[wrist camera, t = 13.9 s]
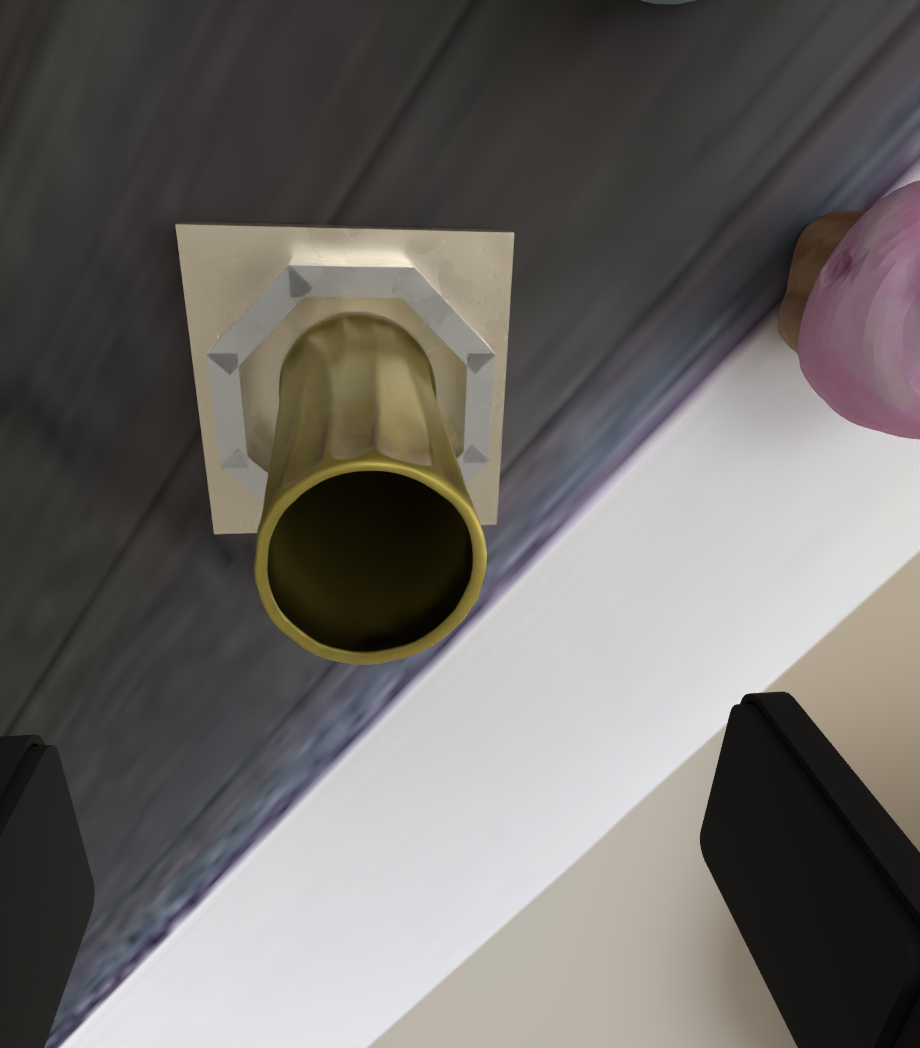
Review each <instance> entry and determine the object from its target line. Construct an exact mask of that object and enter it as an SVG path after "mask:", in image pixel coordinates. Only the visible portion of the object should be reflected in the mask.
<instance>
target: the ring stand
mask: <svg viewBox="0 0 920 1048" xmlns="http://www.w3.org/2000/svg"><path fill="white" fill-rule="evenodd" d="M175 225H176V233H177V241H178V249H179V257H180V265H181V273H182V281H183V289H184V297H185V305H186V313H187V321H188V329H189V337H190V345H191V353H192V361H193V369H194V377H195V385H196V393H197V401H198V409H199V417H200V425H201V433H202V441H203V449H204V457H205V465H206V473H207V481H208V489H209V497H210V505H211V513H212V521H213V529H214V534H237V533H257V530H258V526H259V524H260V520H261V516H262V511H263V505H264V497H265V489H266V484H267V479H268V472H269V466H270V460H271V453H272V447H273V441H274V435H275V428H276V421H277V415H278V409H279V378H280V371H281V367H282V364H283V362H284V360H285V358H286V356H287V354H288V353H289V351H290V349H291V348H292V346H293V345H294V344H295V342H296V341H297V340H298V339H299V338H300V337H301V336H302V335H303V334H304V333H305V332H306V331H308V330H309V329H311V328H312V327H314V326H315V325H317V324H319V323H321V322H323V321H326V320H328V319H331V318H334V317H338V316H342V315H350V314H361V315H369V316H374V317H378V318H382V319H385V320H387V321H389V322H391V323H394V324H395V325H397V326H399V327H400V328H402V329H403V330H405V331H406V332H407V333H408V334H409V335H411V336H412V337H413V338H414V339H415V340H416V341H417V342H418V344H419V345H420V346H421V347H422V349H423V350H424V352H425V353H426V355H427V356H428V359H429V361H430V363H431V366H432V369H433V373H434V377H435V384H436V401H437V404H438V407H439V410H440V412H441V415H442V417H443V421H444V425H445V428H446V431H447V433H448V436H449V439H450V441H451V444H452V447H453V450H454V453H455V455H456V458H457V461H458V463H459V466H460V469H461V472H462V475H463V479H464V482H465V486H466V489H467V491H468V494H469V496H470V498H471V500H472V502H473V505H474V508H475V510H476V513H477V516H478V518H479V521H480V525H497V511H498V494H499V478H500V461H501V445H502V429H503V412H504V396H505V379H506V363H507V346H508V330H509V313H510V297H511V280H512V264H513V248H514V232H512V231H509V230H506V229H470V228H430V227H390V226H350V225H310V224H270V223H230V222H190V221H183V222H180V223H178V224H175Z"/></svg>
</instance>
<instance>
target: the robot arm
mask: <svg viewBox="0 0 920 1048" xmlns="http://www.w3.org/2000/svg"><path fill="white" fill-rule="evenodd" d="M700 845H701V851H702V854H703V857H704V860H705V862H706V864H707V866H708V868H709V870H710V872H711V874H712V876H713V878H714V880H715V882H716V884H717V886H718V888H719V890H720V892H721V894H722V896H723V898H724V900H725V902H726V904H727V906H728V908H729V910H730V912H731V914H732V916H733V918H734V920H735V922H736V924H737V926H738V928H739V931H740V932H741V935H742V937H743V939H744V941H745V943H746V945H747V947H748V948H749V951H750V953H751V954H752V957H753V959H754V960H755V963H756V965H757V967H758V969H759V970H760V973H761V975H762V977H763V979H764V981H765V983H766V985H767V987H768V989H769V991H770V993H771V995H772V997H773V999H774V1001H775V1003H776V1005H777V1007H778V1009H779V1011H780V1013H781V1015H782V1017H783V1019H784V1021H785V1023H786V1025H787V1027H788V1029H789V1031H790V1033H791V1035H792V1037H793V1039H794V1041H795V1043H796V1045H797V1047H798V1048H920V852H919V851H918V850H917V848H916V847H915V846H914V845H913V844H912V843H911V841H910V840H909V839H908V837H907V836H906V835H905V834H904V833H903V831H902V830H901V829H900V828H899V826H898V825H897V824H896V823H895V821H894V820H893V819H892V818H891V817H890V815H889V814H888V813H887V812H886V810H884V808H883V807H882V806H881V804H880V803H879V802H878V801H877V799H876V798H875V797H874V796H873V794H872V793H871V792H870V791H869V790H868V788H867V787H866V786H865V785H864V783H863V782H862V781H861V780H860V778H859V777H858V776H857V775H856V774H855V772H854V771H853V770H852V769H851V767H850V766H849V765H848V764H847V762H846V761H845V760H844V759H843V758H842V756H841V755H840V754H839V753H838V751H837V750H836V749H835V748H834V747H833V745H832V744H831V743H830V742H829V740H828V739H827V738H826V737H825V736H824V734H823V733H822V732H821V731H820V730H819V728H818V727H817V726H816V724H815V723H814V722H813V721H812V720H811V718H810V717H809V716H808V715H807V713H806V712H805V711H804V710H803V709H802V707H801V706H800V705H799V704H798V702H797V701H796V700H795V699H794V698H793V697H792V696H791V695H790V694H789V693H786V692H769V693H751V694H746V695H745V696H744V697H743V698H742V700H741V703H740V704H737V705H734V706H733V707H732V709H731V712H730V715H729V719H728V723H727V727H726V732H725V735H724V740H723V744H722V748H721V752H720V756H719V760H718V764H717V768H716V772H715V776H714V780H713V784H712V788H711V792H710V796H709V800H708V804H707V808H706V812H705V817H704V820H703V824H702V828H701V832H700ZM93 903H94V882H93V878H92V875H91V871H90V867H89V863H88V860H87V856H86V852H85V849H84V845H83V841H82V838H81V834H80V830H79V826H78V823H77V819H76V815H75V812H74V808H73V804H72V800H71V797H70V793H69V789H68V786H67V782H66V778H65V775H64V771H63V767H62V763H61V760H60V756H59V753H58V750H57V748H56V747H55V746H54V745H46V746H45V744H44V742H43V739H42V738H41V737H40V736H39V735H22V736H4V737H0V1048H44V1046H45V1044H46V1041H47V1038H48V1035H49V1032H50V1029H51V1027H52V1024H53V1021H54V1018H55V1015H56V1012H57V1010H58V1007H59V1004H60V1001H61V998H62V995H63V992H64V990H65V987H66V984H67V981H68V978H69V975H70V973H71V970H72V967H73V964H74V961H75V958H76V956H77V953H78V950H79V947H80V944H81V941H82V938H83V936H84V933H85V930H86V927H87V924H88V921H89V919H90V916H91V912H92V909H93Z"/></svg>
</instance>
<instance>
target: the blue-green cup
mask: <svg viewBox="0 0 920 1048" xmlns="http://www.w3.org/2000/svg"><path fill="white" fill-rule="evenodd" d="M641 1H645V2H649V3H653V4H682V3H687V2H692V1H696V0H641Z"/></svg>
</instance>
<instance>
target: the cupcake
mask: <svg viewBox="0 0 920 1048" xmlns="http://www.w3.org/2000/svg"><path fill="white" fill-rule="evenodd" d="M778 330H779V333H780V335H781V336H782V338H783V339H784V340H785V341H786V343H787V344H788V345H789V346H790V347H791V348H792V349H793V350H794V351H795V352H796V353H797V354H798V357H799V361H800V367H801V370H802V372H803V374H804V376H805V378H806V379H807V381H808V382H809V384H810V385H811V387H812V388H813V389H814V390H815V391H816V393H817V394H818V395H819V396H820V397H821V398H822V399H823V400H825V401H826V403H827V404H828V405H829V406H830V407H831V408H832V409H833V410H834V411H835V412H837V413H838V414H839V415H840V416H842V417H844V418H845V419H847V420H848V421H850V422H852V423H854V424H856V425H859V426H862V427H866V428H869V429H873V430H877V431H881V432H884V433H888V434H891V435H895V436H899V437H904V438H911V439H920V181H916V182H913V183H911V184H908V185H906V186H904V187H902V188H899V189H897V190H895V191H894V192H892V193H891V194H889V195H888V196H886V197H885V198H883V199H882V200H880V201H879V202H878V203H876V204H875V205H874V206H873V207H872V208H871V209H869V210H864V211H842V212H833V213H829V214H827V215H824V216H821V217H819V218H818V219H816V220H815V221H813V222H811V223H810V224H809V225H808V226H807V227H806V228H805V229H804V230H803V232H802V233H801V235H800V237H799V240H798V242H797V244H796V247H795V250H794V254H793V259H792V263H791V268H790V273H789V278H788V284H787V290H786V293H785V296H784V298H783V300H782V302H781V304H780V308H779V318H778Z"/></svg>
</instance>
